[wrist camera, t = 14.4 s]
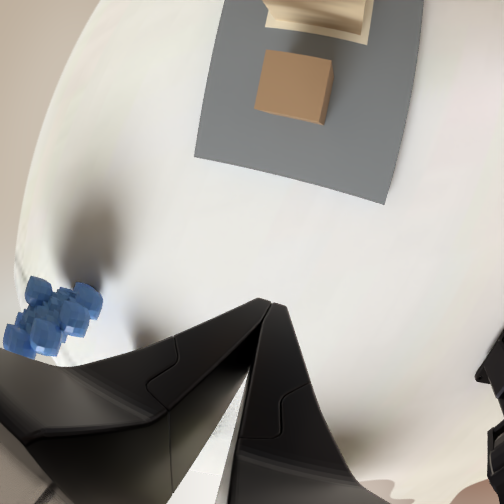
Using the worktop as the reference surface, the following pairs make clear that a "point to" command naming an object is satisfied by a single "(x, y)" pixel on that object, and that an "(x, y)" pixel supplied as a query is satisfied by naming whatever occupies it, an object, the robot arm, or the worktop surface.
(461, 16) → the worktop surface
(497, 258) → the worktop surface
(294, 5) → the maple block
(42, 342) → the grapes
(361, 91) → the board
